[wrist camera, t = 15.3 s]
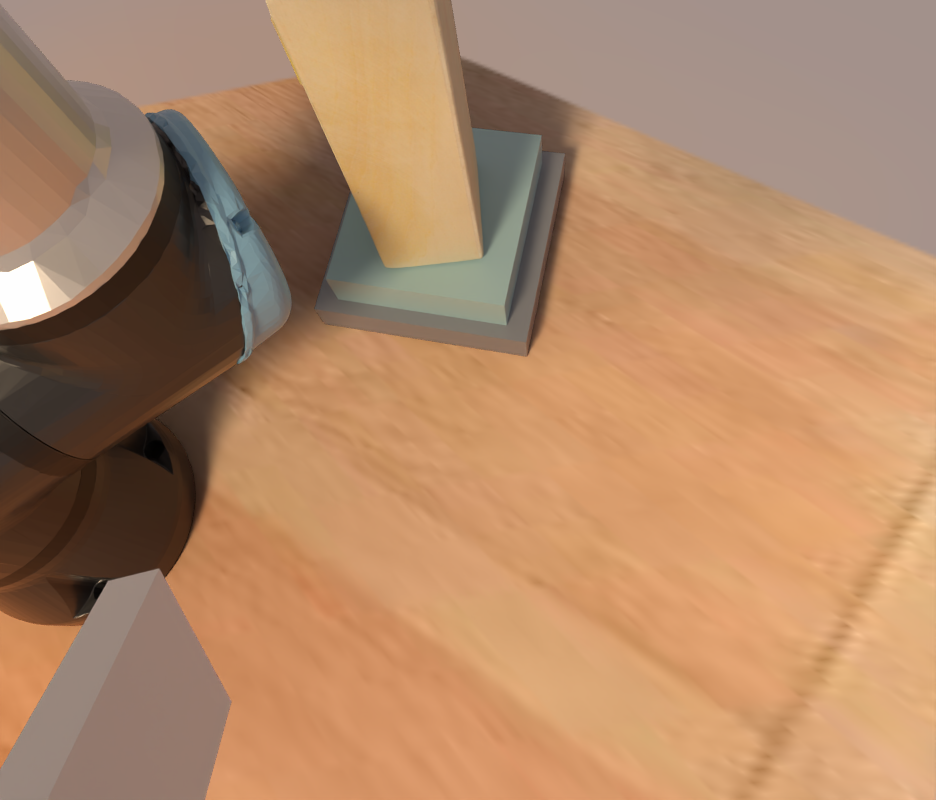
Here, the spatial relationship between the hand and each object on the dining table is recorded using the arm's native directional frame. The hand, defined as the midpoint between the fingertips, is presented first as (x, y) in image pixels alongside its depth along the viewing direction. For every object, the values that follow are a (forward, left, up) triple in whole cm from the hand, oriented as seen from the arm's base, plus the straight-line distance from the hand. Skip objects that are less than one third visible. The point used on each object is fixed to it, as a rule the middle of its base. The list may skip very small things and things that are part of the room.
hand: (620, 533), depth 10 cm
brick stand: (-13, +24, -36) cm, 45 cm away
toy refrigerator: (-14, +23, -30) cm, 41 cm away
